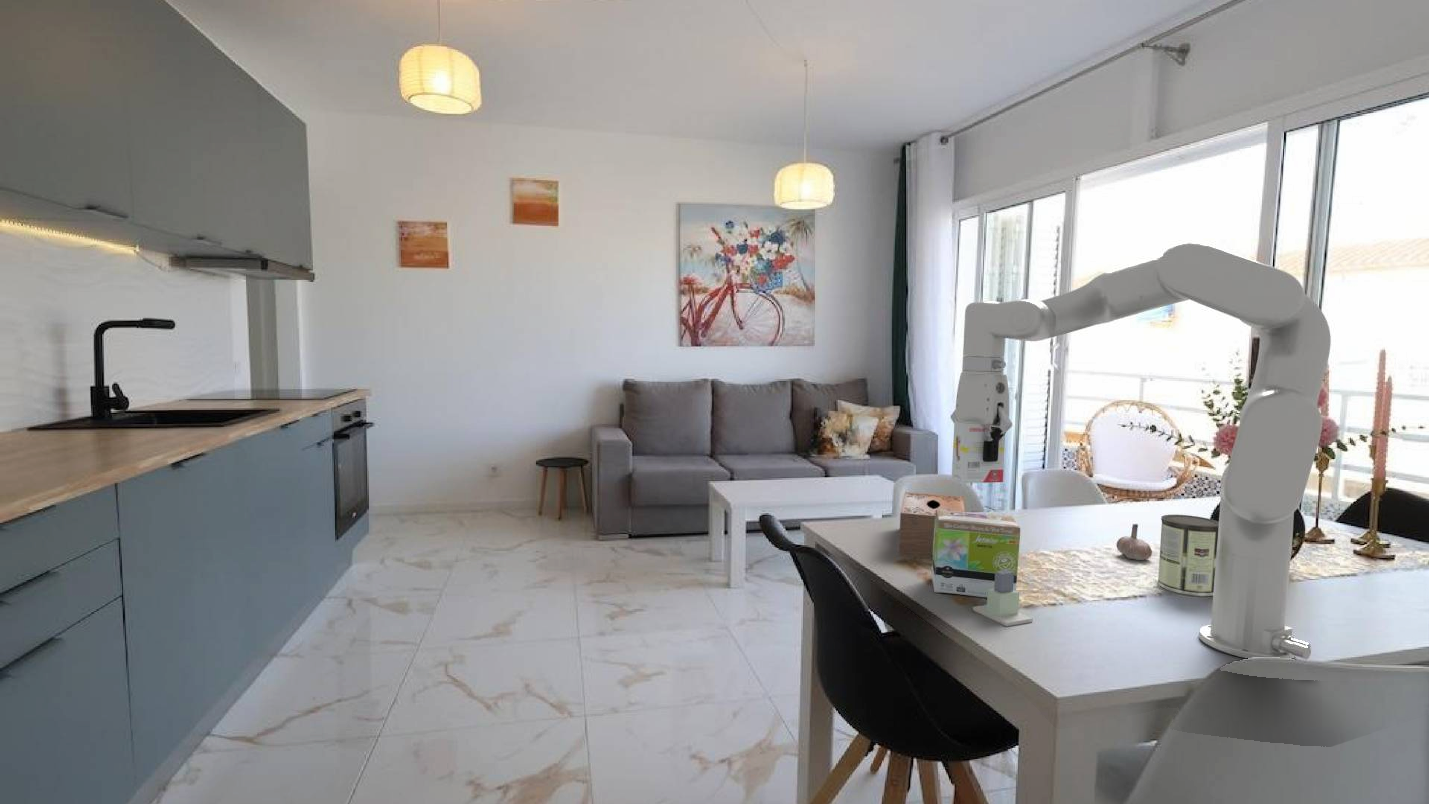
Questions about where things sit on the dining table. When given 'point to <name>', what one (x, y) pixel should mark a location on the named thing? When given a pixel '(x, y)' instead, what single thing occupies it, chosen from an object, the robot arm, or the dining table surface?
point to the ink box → (974, 455)
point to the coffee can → (1188, 554)
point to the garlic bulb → (1134, 546)
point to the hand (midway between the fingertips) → (978, 457)
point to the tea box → (972, 551)
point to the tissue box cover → (922, 521)
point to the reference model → (1003, 601)
